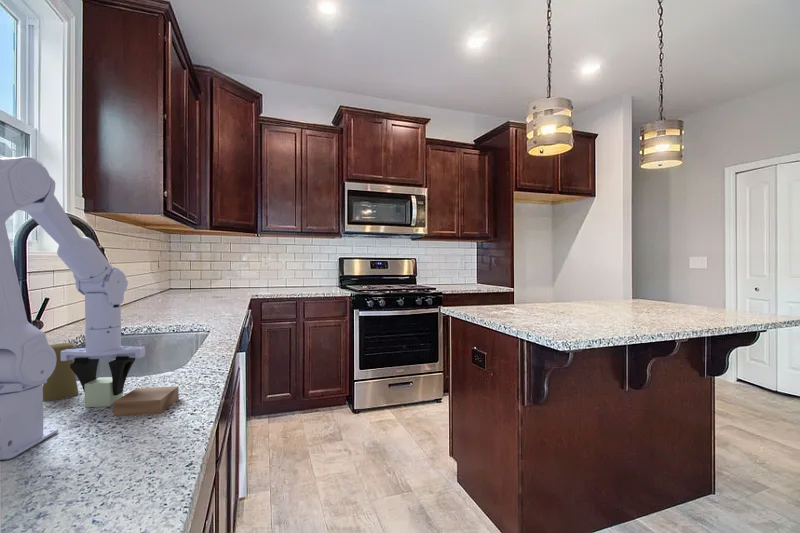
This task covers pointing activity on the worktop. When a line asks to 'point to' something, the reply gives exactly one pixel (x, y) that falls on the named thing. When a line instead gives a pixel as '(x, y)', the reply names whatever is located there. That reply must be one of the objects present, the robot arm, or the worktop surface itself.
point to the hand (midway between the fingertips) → (104, 394)
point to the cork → (60, 377)
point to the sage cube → (100, 392)
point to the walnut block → (146, 401)
